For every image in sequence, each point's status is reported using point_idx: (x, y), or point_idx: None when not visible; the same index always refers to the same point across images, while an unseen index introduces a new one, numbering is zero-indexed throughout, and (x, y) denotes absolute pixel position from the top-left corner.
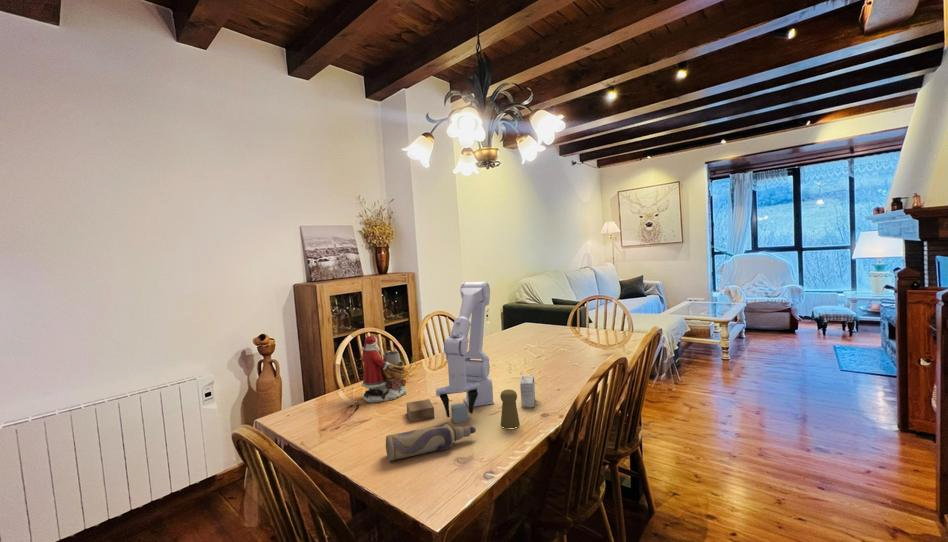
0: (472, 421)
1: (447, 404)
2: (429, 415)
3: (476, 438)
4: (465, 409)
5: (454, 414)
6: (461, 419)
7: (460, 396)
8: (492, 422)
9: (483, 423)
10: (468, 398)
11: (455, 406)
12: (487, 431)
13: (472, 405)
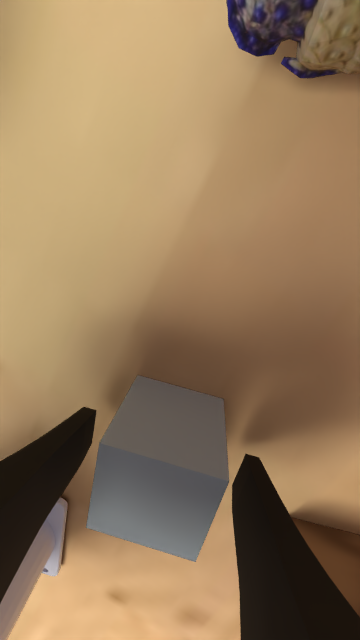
0: (115, 355)
1: (305, 586)
2: (322, 548)
3: (212, 74)
4: (122, 439)
5: (223, 444)
6: (175, 397)
7: (61, 596)
8: (6, 266)
9: (64, 289)
10: (24, 554)
11: (178, 522)
12: (84, 150)
13: (40, 447)
